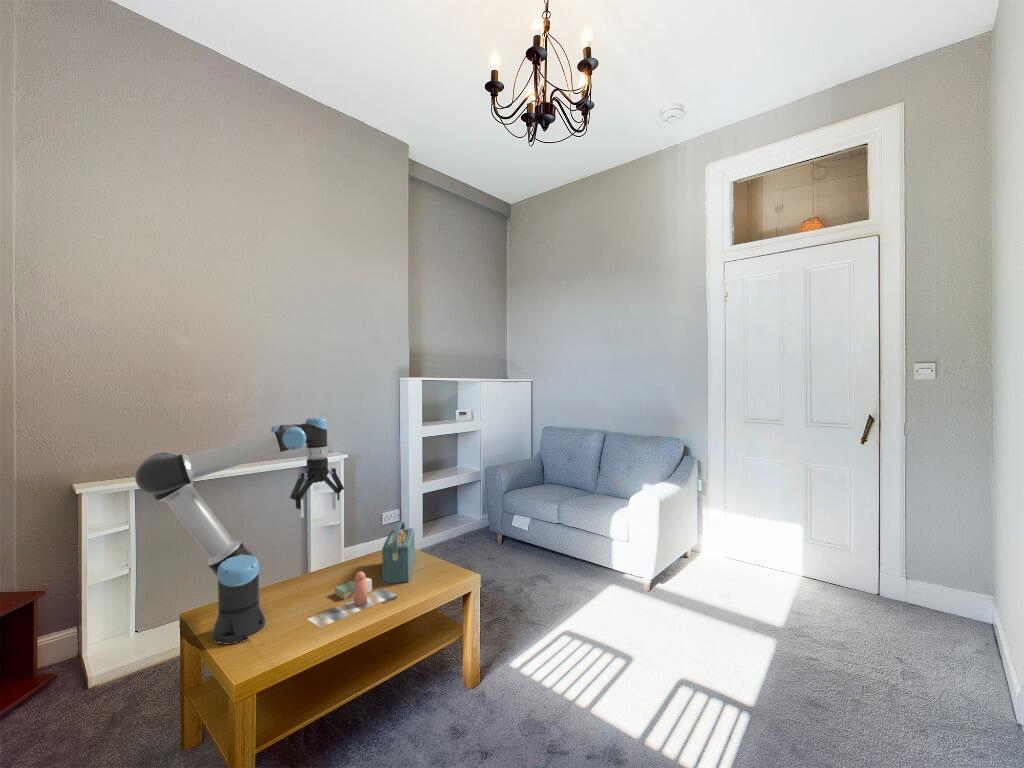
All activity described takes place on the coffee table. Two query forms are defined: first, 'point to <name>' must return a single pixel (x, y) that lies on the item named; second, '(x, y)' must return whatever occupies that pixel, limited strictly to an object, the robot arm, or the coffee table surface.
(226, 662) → the coffee table surface
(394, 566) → the radio
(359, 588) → the pink rounded cylinder
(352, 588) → the stand
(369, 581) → the white cube
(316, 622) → the board
